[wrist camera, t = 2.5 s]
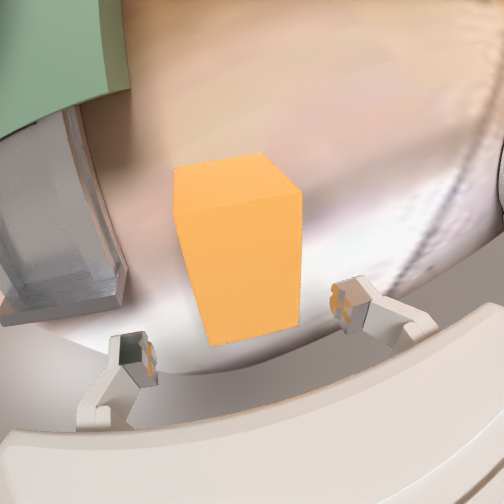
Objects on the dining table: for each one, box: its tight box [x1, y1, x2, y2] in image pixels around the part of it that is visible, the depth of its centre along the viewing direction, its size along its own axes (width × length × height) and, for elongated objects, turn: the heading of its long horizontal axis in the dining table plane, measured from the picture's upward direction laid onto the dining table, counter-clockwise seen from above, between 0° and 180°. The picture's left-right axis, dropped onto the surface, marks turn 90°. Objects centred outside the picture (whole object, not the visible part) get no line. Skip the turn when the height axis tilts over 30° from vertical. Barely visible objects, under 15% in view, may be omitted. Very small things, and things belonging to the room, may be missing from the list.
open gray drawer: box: [0, 105, 128, 327], centre depth 12 cm, size 10×11×4 cm
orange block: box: [173, 153, 302, 347], centre depth 15 cm, size 5×8×6 cm, turn 5°
